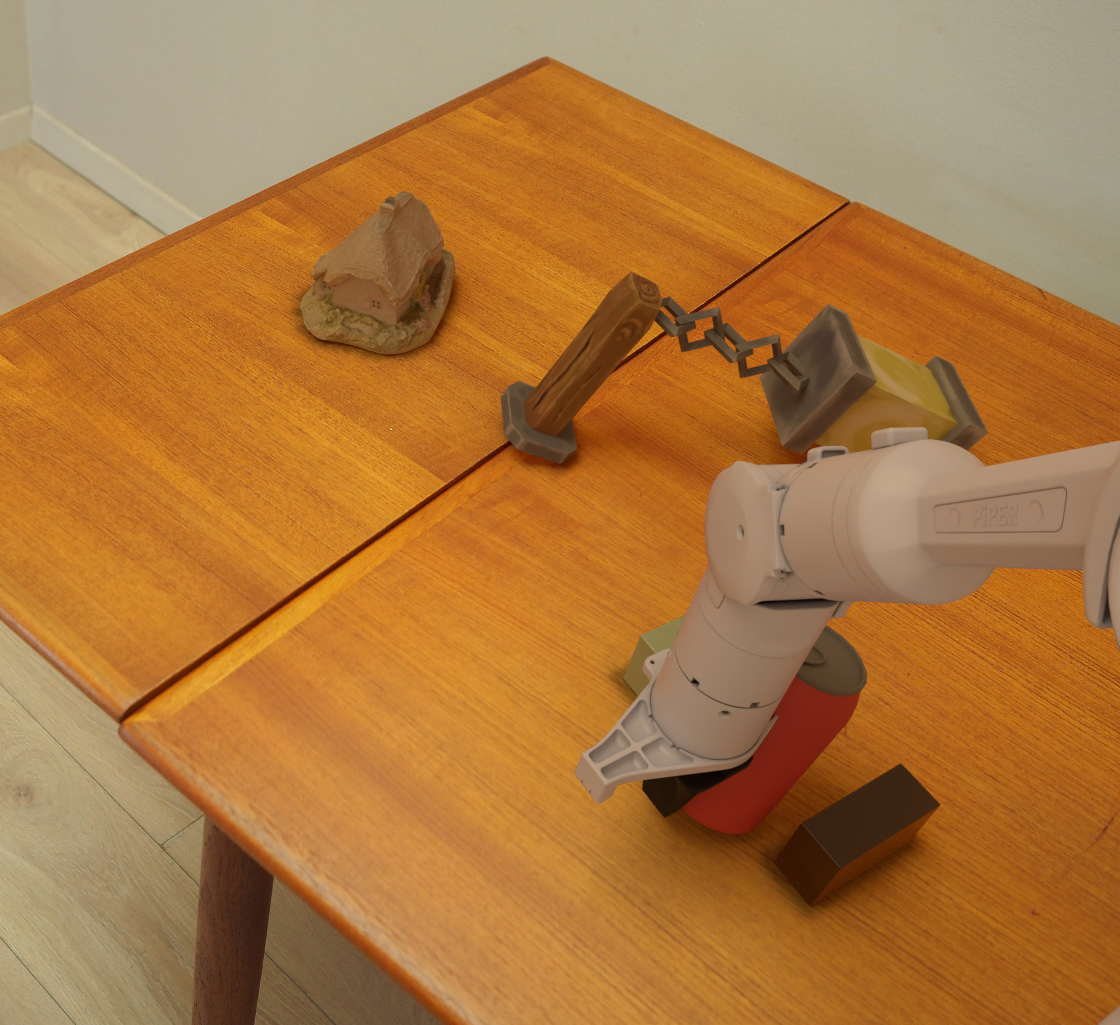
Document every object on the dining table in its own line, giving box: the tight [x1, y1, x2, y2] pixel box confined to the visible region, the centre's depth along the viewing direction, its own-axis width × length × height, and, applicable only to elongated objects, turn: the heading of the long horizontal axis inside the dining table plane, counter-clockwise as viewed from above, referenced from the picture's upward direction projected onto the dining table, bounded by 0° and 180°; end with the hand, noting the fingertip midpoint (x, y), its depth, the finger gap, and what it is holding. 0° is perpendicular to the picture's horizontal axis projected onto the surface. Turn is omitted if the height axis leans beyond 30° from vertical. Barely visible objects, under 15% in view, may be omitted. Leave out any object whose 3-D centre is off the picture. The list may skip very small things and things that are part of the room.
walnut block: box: [774, 762, 941, 907], centre depth 65 cm, size 3×8×4 cm, turn 122°
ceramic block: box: [623, 614, 686, 697], centre depth 72 cm, size 3×8×4 cm, turn 122°
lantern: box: [500, 271, 989, 465], centre depth 86 cm, size 8×17×30 cm
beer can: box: [680, 624, 868, 835], centre depth 64 cm, size 7×7×12 cm
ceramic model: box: [299, 190, 456, 355], centre depth 93 cm, size 14×11×10 cm
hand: (658, 800), depth 65 cm, fingers closed, pressing on beer can
